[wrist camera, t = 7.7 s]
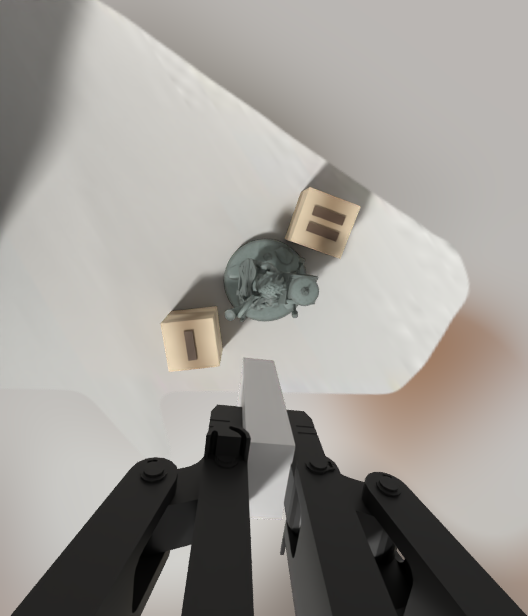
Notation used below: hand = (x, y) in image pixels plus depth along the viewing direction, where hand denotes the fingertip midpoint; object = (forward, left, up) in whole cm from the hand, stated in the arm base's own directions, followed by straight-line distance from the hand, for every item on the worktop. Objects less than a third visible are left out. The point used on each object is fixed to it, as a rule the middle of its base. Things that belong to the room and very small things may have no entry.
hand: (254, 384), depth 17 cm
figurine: (+2, +1, -29) cm, 29 cm away
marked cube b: (+7, +9, -29) cm, 31 cm away
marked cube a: (-6, -7, -29) cm, 30 cm away
